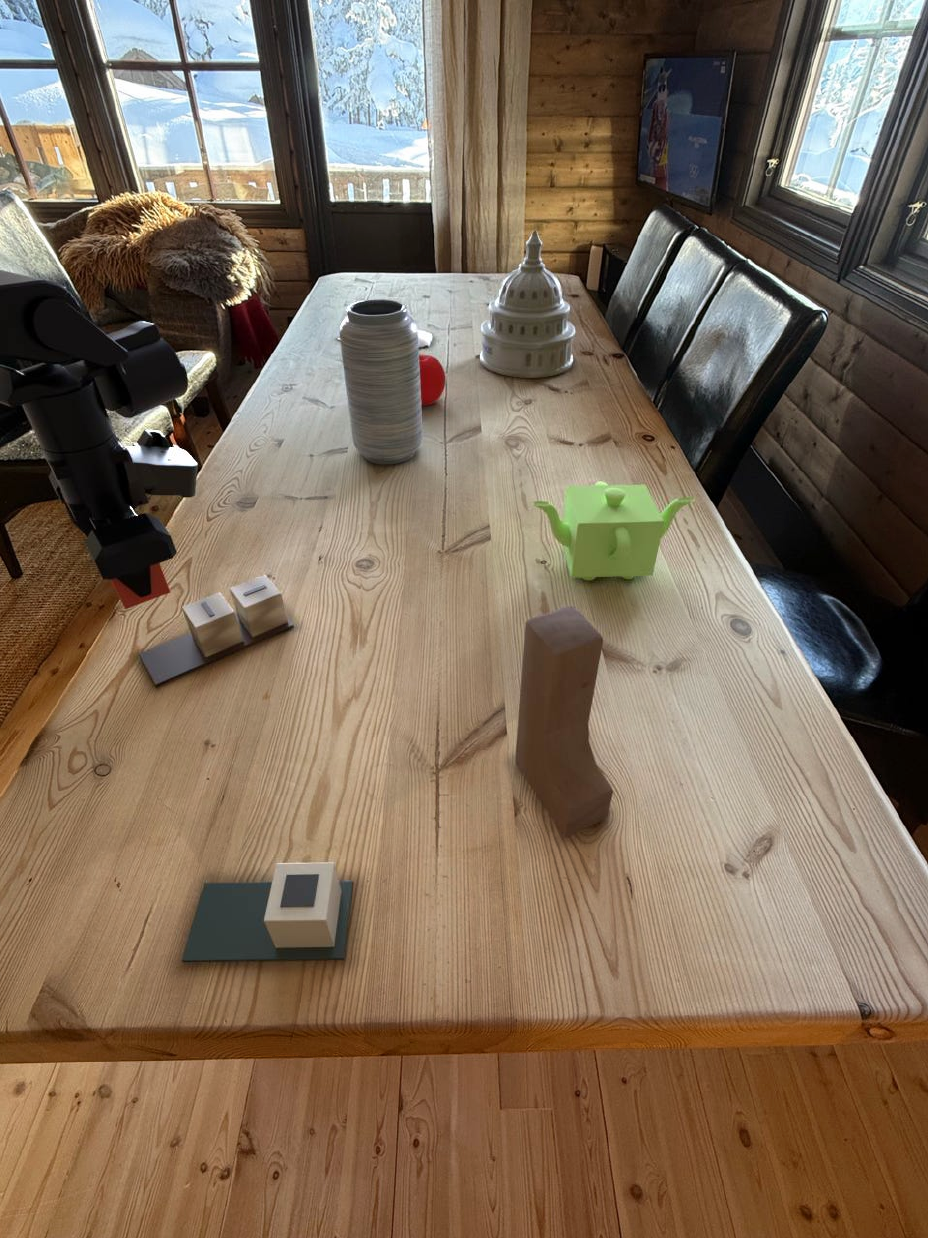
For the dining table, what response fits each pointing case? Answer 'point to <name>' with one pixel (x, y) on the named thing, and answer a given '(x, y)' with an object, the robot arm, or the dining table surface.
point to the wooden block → (561, 719)
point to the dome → (528, 322)
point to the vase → (382, 380)
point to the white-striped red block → (132, 599)
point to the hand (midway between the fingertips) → (138, 583)
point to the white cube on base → (273, 918)
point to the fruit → (431, 379)
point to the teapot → (610, 529)
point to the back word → (220, 629)
